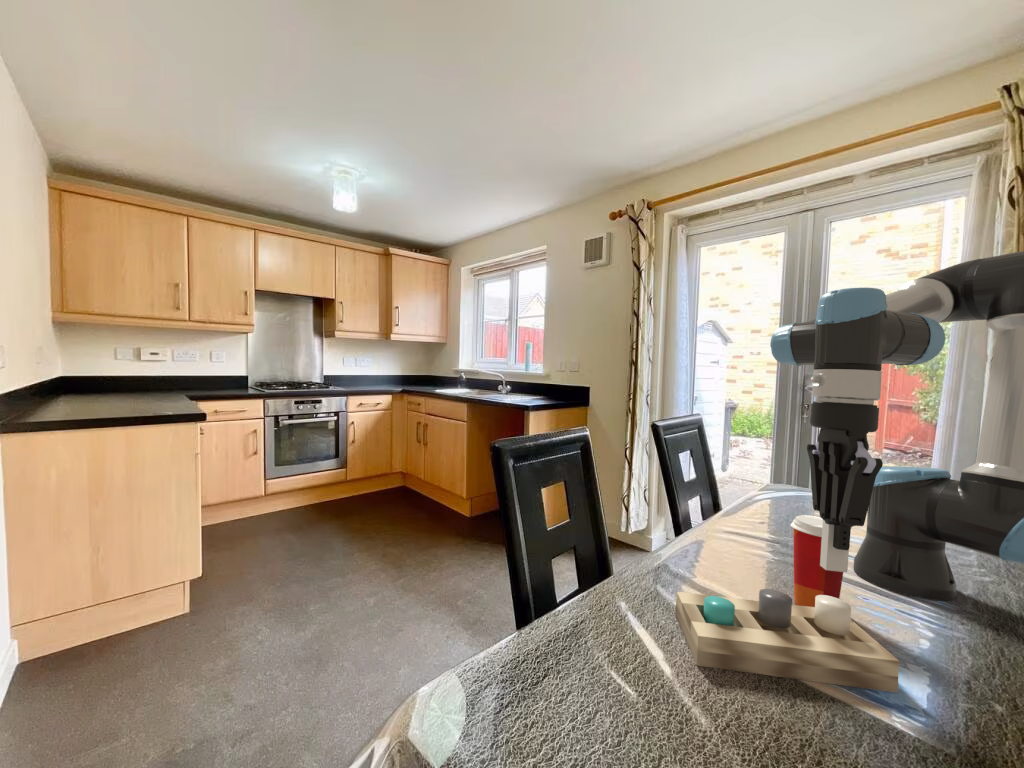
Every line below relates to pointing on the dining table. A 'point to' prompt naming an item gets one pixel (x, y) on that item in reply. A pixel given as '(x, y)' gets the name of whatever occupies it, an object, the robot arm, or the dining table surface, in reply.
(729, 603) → the teal button
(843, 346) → the robot arm
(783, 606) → the gray button
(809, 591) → the coffee cup
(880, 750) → the dining table surface
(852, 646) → the wooden button tray
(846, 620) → the white rounded cylinder
